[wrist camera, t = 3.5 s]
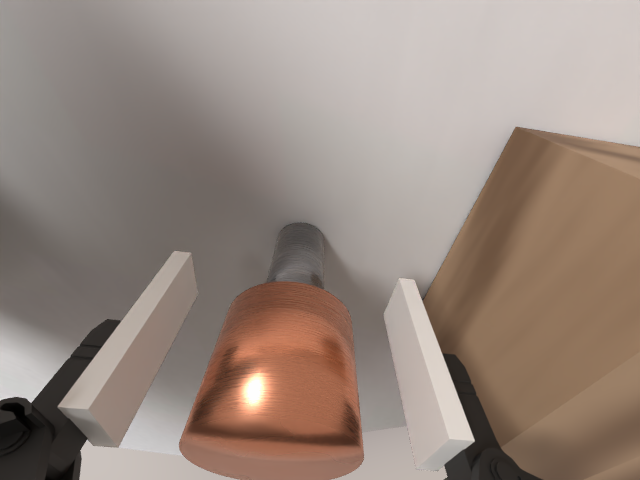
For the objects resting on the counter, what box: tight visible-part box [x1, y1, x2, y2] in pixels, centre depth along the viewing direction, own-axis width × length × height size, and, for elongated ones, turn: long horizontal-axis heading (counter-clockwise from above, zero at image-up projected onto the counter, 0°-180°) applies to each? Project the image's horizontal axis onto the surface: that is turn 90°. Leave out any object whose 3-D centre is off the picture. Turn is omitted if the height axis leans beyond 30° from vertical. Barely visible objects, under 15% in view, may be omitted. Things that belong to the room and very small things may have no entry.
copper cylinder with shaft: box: [179, 223, 364, 480], centre depth 12 cm, size 5×5×10 cm
